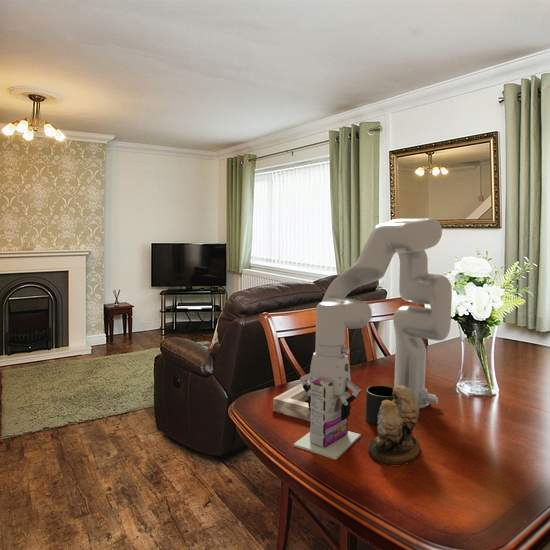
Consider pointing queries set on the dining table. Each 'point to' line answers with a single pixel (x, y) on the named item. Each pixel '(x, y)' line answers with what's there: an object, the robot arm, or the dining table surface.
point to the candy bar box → (325, 415)
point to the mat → (331, 450)
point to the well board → (293, 403)
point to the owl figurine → (396, 429)
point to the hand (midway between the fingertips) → (328, 413)
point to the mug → (376, 401)
